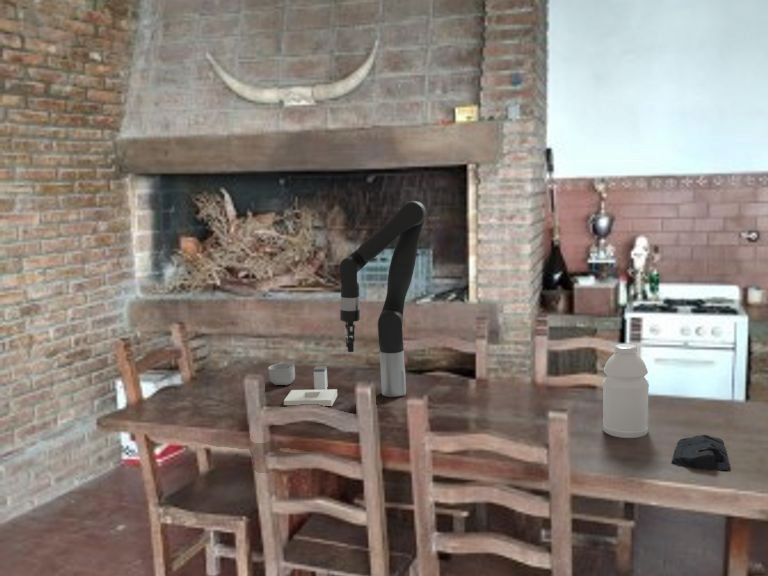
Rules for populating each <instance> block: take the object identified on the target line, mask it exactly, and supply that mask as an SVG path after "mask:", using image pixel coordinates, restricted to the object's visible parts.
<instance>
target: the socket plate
mask: <svg viewBox="0 0 768 576" xmlns="http://www.w3.org/2000/svg"><path fill="white" fill-rule="evenodd" d="M337 397H338V389H337V388H335V389H334V388H333V389H332V388H331V389H330V388H329V389H328V388H327V389H321V390H315V389H291V390H290V392H289V393H288V395H287V396H286V397H285V398H284V400H283V406H284V405H300V404H319V405H323V406H332V407H333V405H334V403H335V401H336V399H337Z"/></svg>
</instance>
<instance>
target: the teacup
mask: <svg viewBox="0 0 768 576" xmlns="http://www.w3.org/2000/svg"><path fill="white" fill-rule="evenodd" d="M295 369H296V368H295V364H294V363H293V362H282V361H281V362H278V363H274V364H271V365H269V366H268V368H267V370H268V374H269V380H270V382H271V383H272V384H273V385H275V386H276V385H285V386H288V385H291V384H292V382H293V381H294V380H295V378H296V371H295Z"/></svg>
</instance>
